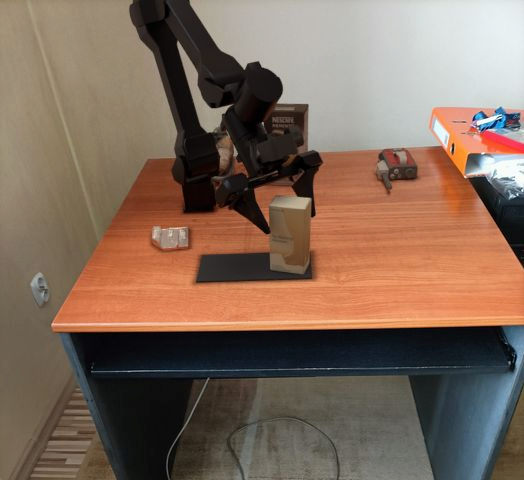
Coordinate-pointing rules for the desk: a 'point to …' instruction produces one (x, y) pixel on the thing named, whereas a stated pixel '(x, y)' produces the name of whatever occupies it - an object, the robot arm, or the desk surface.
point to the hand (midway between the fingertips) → (291, 225)
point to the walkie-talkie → (396, 165)
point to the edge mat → (243, 268)
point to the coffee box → (284, 119)
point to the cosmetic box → (289, 233)
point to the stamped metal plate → (170, 238)
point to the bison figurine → (224, 154)
